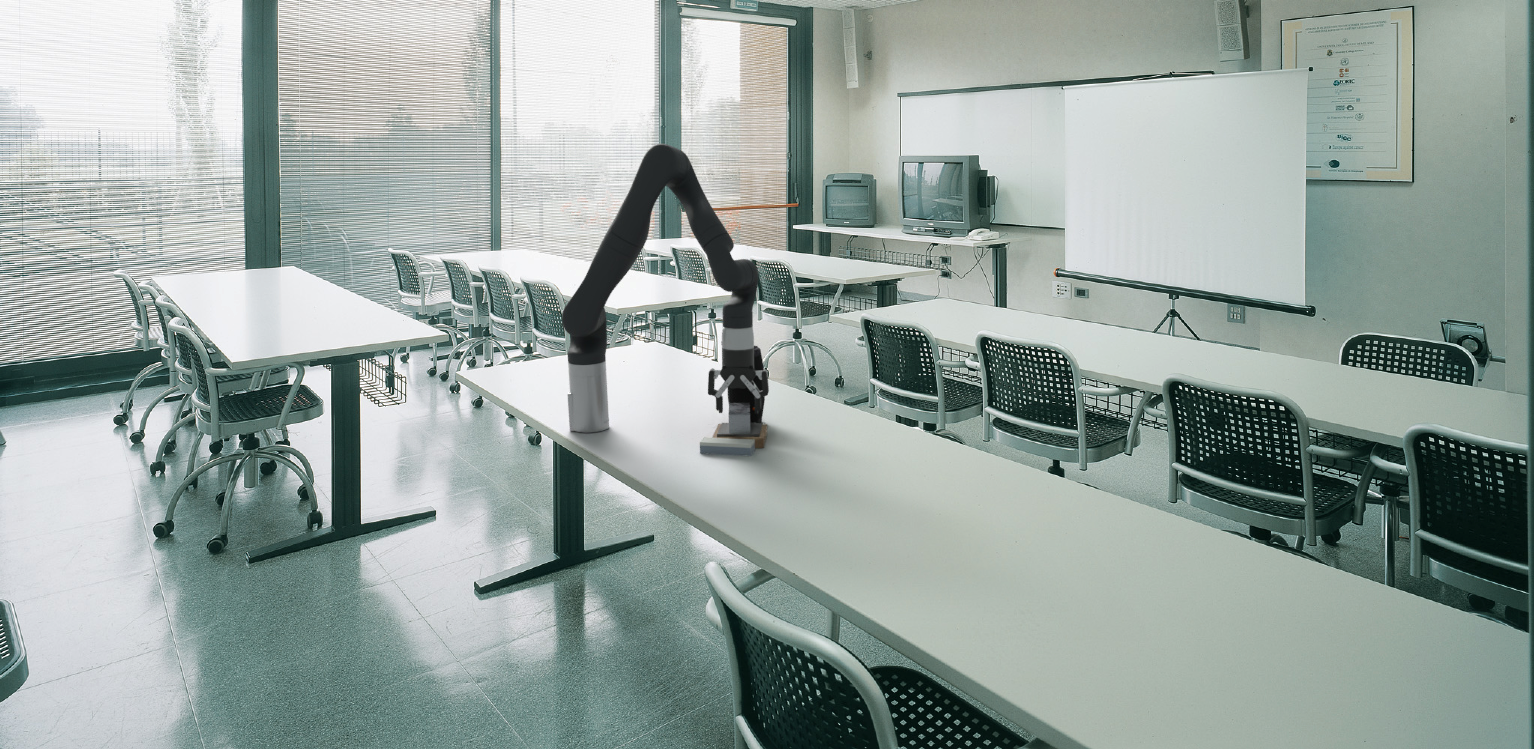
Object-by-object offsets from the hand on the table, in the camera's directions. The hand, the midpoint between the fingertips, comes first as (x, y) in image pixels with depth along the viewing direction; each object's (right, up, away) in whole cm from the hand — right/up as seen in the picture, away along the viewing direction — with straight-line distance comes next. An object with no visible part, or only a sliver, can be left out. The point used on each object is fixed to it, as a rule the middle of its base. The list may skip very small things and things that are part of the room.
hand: (738, 412), depth 226 cm
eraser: (-2, -9, -7) cm, 12 cm away
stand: (0, -7, +2) cm, 7 cm away
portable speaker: (+2, -3, +17) cm, 18 cm away
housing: (0, -4, +1) cm, 4 cm away
